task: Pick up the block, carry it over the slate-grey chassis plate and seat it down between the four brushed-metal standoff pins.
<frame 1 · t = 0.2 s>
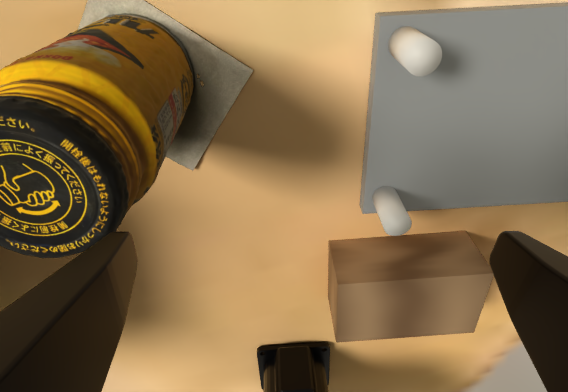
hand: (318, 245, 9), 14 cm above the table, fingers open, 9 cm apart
block: (392, 263, 30), on the table
condiment: (154, 82, 21), on the table
chassis: (499, 115, 23), on the table
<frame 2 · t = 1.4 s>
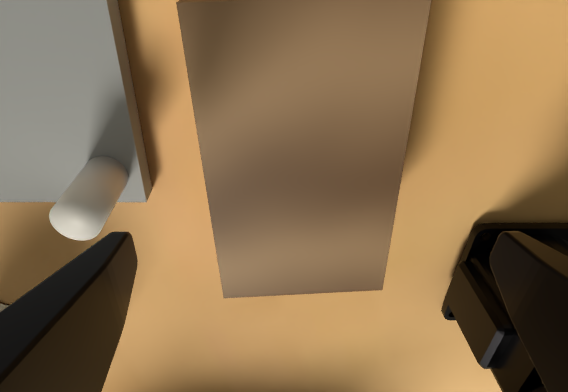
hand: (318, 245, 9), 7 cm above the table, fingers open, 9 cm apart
block: (294, 122, 16), on the table
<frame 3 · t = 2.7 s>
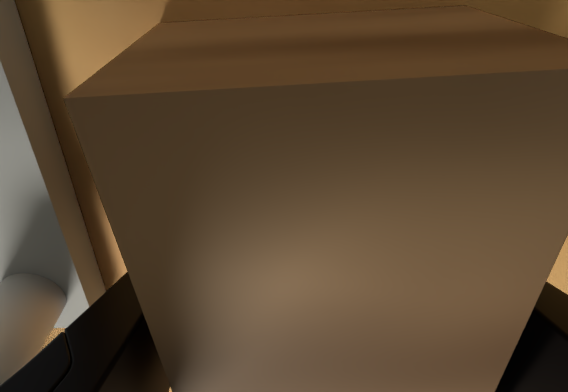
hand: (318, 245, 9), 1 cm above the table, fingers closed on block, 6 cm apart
block: (313, 214, 10), on the table, touching gripper
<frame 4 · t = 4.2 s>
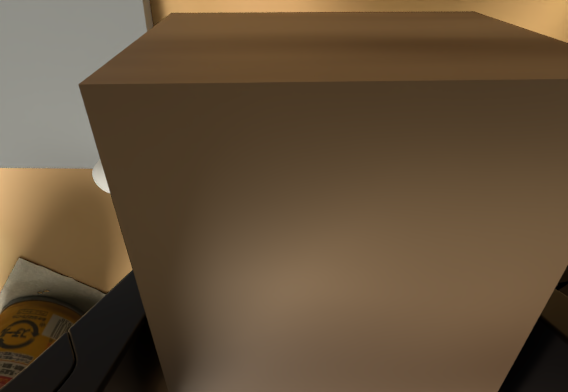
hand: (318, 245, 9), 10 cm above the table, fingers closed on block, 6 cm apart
block: (313, 216, 10), point 9 cm above the table, touching gripper
condiment: (58, 316, 26), on the table
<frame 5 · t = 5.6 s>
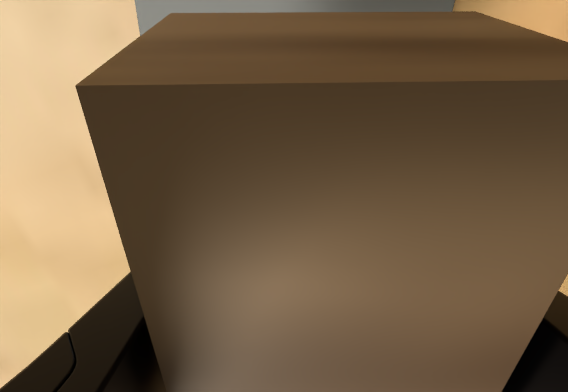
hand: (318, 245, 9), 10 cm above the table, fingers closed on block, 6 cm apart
block: (313, 217, 10), point 9 cm above the table, touching gripper
chassis: (291, 102, 18), on the table
when the fingers open (3 cm above the table, at t = 7.6 s): block drops 1 cm, resting on chassis.
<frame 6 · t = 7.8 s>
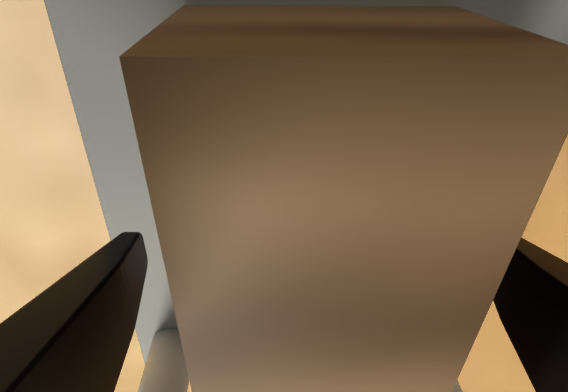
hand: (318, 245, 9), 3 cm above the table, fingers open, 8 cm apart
block: (310, 195, 11), point 1 cm above the table, touching chassis
chassis: (305, 178, 12), on the table
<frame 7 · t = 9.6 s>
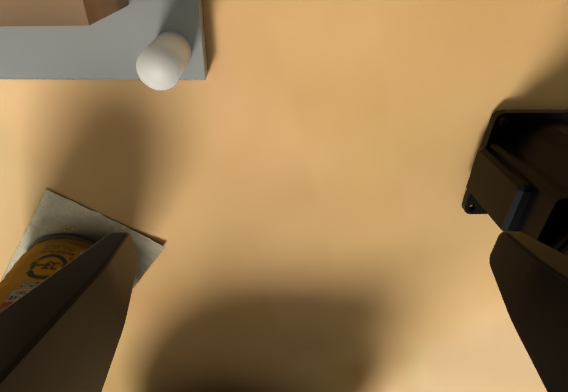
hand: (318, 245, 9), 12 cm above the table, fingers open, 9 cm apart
condiment: (84, 258, 25), on the table
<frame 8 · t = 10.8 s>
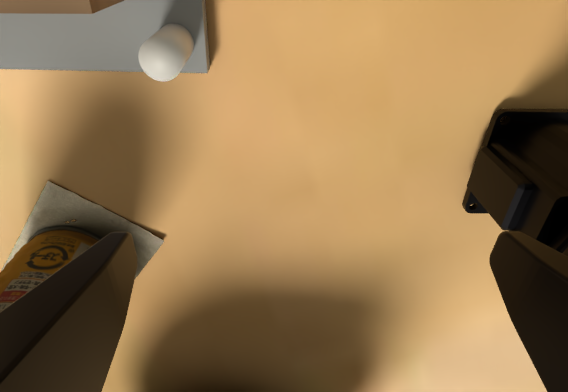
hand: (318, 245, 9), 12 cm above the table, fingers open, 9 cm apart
condiment: (84, 251, 25), on the table
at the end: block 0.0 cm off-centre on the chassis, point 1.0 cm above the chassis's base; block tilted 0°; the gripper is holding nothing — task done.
